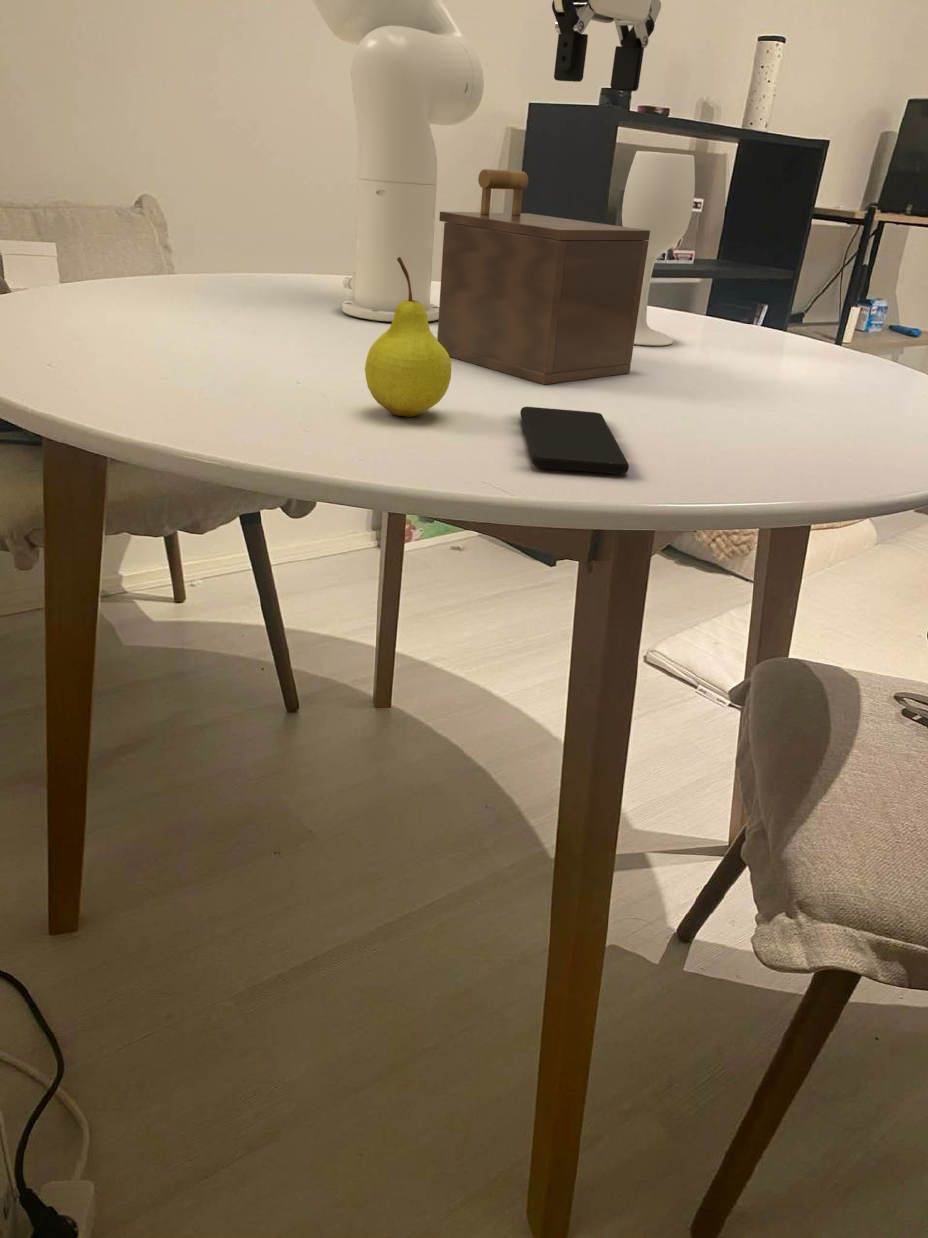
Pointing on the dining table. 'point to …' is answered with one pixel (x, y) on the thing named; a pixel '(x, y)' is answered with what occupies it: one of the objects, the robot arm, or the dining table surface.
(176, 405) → the dining table surface
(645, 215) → the wineglass
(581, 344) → the chest
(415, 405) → the fruit
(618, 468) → the smartphone
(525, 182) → the lid
